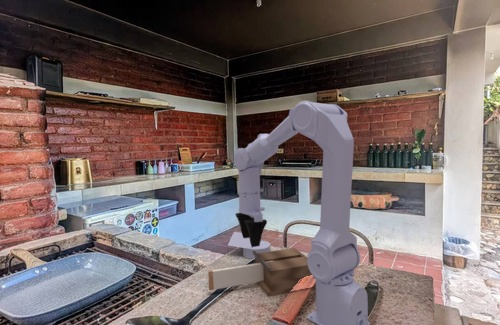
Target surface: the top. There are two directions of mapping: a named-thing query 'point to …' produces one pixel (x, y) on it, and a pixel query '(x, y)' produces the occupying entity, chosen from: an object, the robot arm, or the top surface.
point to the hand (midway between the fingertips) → (250, 241)
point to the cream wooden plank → (236, 276)
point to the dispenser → (282, 270)
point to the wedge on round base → (248, 245)
